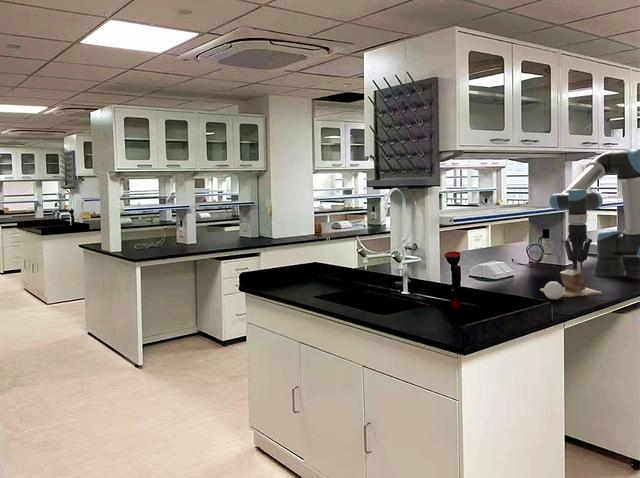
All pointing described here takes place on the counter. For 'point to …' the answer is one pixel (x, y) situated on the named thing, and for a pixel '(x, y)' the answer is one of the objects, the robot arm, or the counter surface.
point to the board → (581, 293)
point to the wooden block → (572, 280)
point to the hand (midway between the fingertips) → (577, 276)
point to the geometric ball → (553, 290)
